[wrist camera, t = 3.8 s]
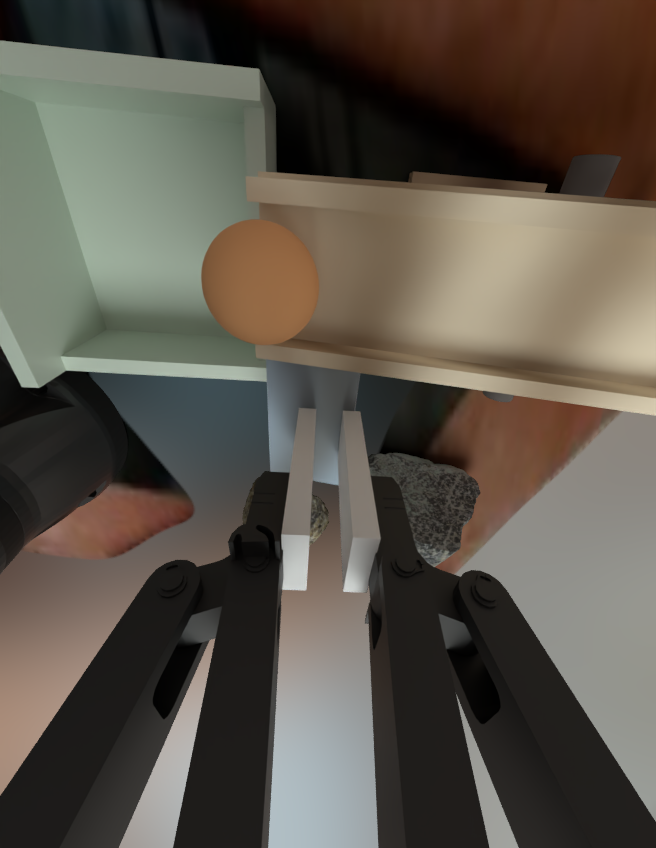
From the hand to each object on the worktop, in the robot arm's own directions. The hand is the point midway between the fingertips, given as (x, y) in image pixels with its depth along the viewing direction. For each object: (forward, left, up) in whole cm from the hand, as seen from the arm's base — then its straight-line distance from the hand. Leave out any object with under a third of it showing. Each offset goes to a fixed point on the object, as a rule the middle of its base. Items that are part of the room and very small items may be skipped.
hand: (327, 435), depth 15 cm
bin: (-9, +6, -9) cm, 14 cm away
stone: (+7, -12, -10) cm, 17 cm away
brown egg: (-2, +6, +1) cm, 7 cm away
